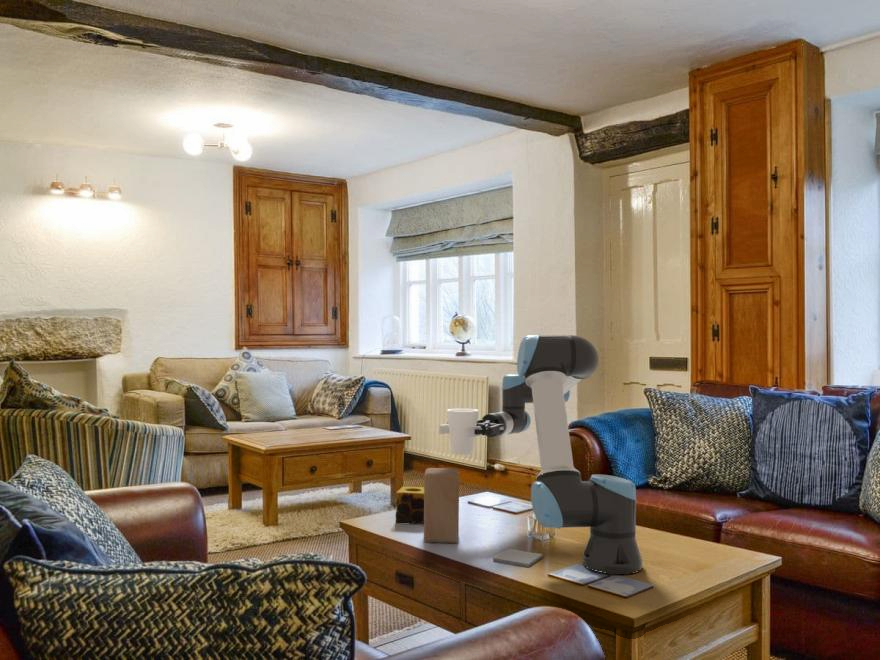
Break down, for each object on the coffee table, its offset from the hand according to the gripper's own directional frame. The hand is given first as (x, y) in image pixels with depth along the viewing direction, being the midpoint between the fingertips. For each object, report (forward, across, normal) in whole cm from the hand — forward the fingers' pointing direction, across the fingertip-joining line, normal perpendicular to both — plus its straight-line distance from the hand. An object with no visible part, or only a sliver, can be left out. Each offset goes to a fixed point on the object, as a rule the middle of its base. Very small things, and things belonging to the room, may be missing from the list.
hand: (453, 431), depth 230 cm
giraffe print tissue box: (-5, +20, -31) cm, 37 cm away
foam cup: (-5, 0, -7) cm, 9 cm away
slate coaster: (+7, -28, -31) cm, 43 cm away
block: (+6, 0, -31) cm, 32 cm away
